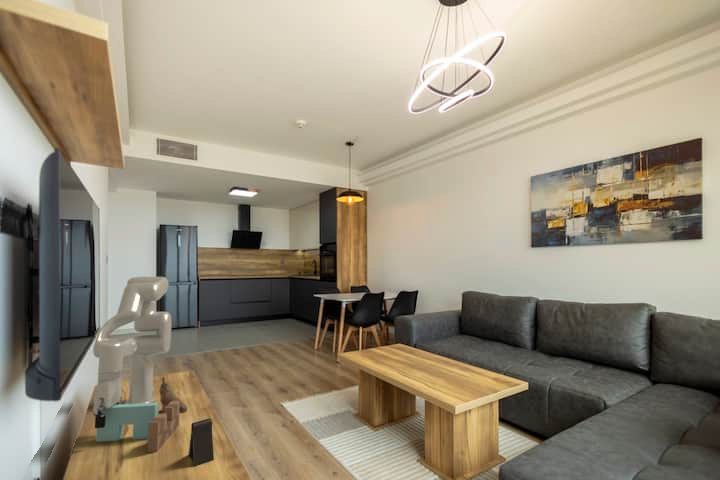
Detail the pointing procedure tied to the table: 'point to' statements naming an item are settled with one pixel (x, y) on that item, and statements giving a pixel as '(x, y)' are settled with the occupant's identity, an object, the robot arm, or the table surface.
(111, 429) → the teal board
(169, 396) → the brown carved statuette
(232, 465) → the table surface
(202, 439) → the phone stand
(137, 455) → the table surface
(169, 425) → the walnut board
